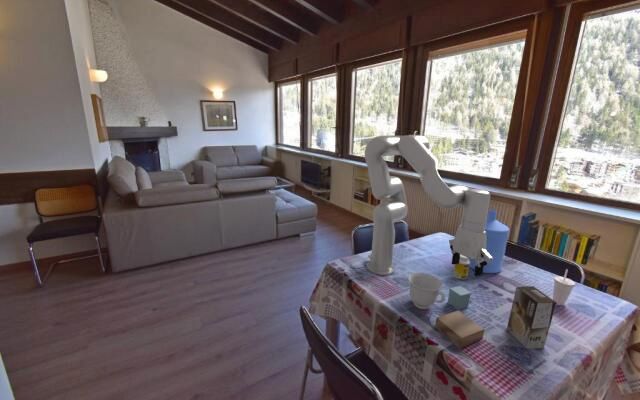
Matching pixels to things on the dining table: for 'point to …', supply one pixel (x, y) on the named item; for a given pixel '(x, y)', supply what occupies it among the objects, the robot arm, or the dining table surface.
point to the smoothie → (562, 289)
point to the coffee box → (531, 316)
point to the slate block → (459, 297)
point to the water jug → (494, 243)
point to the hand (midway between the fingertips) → (465, 269)
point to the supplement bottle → (462, 268)
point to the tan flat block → (459, 328)
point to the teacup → (425, 290)
